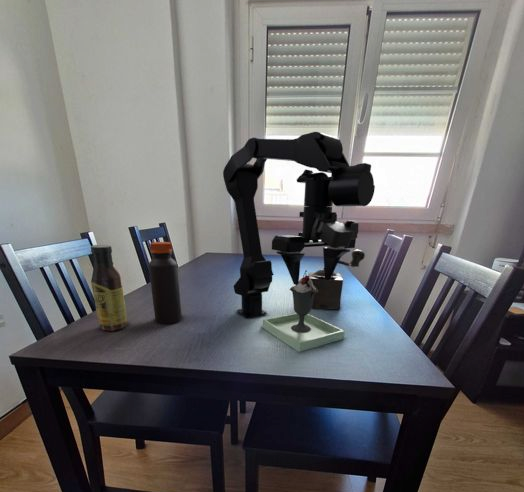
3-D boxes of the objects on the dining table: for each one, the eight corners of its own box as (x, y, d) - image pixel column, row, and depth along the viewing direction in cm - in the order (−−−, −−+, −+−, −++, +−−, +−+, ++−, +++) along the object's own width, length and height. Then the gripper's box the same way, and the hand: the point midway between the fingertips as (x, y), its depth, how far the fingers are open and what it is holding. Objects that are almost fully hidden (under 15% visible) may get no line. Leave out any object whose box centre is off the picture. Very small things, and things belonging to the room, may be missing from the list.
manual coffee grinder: (305, 308, 86) (310, 248, 79) (305, 298, 96) (309, 244, 90) (358, 312, 84) (367, 250, 78) (352, 301, 94) (360, 246, 88)
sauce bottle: (96, 327, 70) (79, 245, 63) (121, 320, 74) (108, 243, 67) (106, 335, 66) (89, 248, 58) (132, 327, 70) (120, 245, 63)
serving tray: (262, 327, 72) (262, 319, 71) (302, 318, 78) (303, 311, 77) (299, 351, 60) (299, 342, 59) (343, 339, 66) (344, 330, 65)
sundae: (298, 336, 66) (302, 272, 60) (282, 326, 71) (285, 267, 66) (320, 331, 69) (326, 270, 63) (303, 322, 74) (308, 265, 69)
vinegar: (175, 325, 72) (167, 245, 65) (150, 323, 73) (139, 243, 66) (186, 316, 78) (179, 242, 71) (163, 314, 79) (154, 241, 72)
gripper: (308, 205, 46) (302, 296, 51) (381, 207, 55) (370, 285, 61) (271, 205, 55) (269, 284, 60) (339, 207, 64) (333, 275, 69)
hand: (312, 282), depth 62 cm, fingers open, 9 cm apart
